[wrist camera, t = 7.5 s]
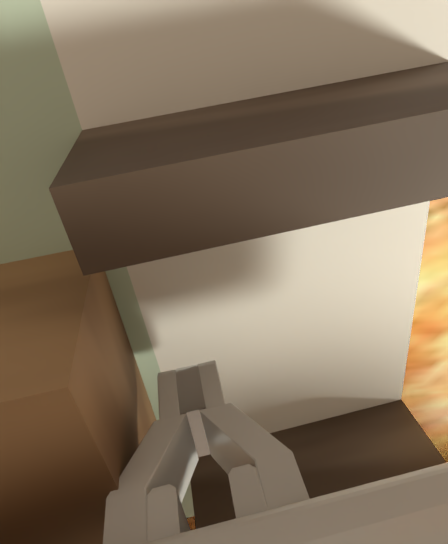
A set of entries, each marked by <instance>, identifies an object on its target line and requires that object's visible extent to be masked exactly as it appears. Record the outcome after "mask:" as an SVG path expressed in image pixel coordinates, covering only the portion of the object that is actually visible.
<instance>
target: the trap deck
mask: <svg viewBox="0 0 448 544" xmlns="http://www.w3.org/2000/svg"><path fill="white" fill-rule="evenodd" d="M443 62H448V0H0V264H4V263H9V262H14V261H19V260H24V259H29V258H34V257H39V256H44V255H49V254H54V253H59V252H64V251H69V250H73V248H72V246H71V243H70V241H69V238H68V236H67V233H66V231H65V228H64V226H63V223H62V221H61V218H60V216H59V213H58V211H57V208H56V206H55V203H54V201H53V198H52V196H51V193H50V191H49V187H50V185H51V183H52V182H53V180H54V178H55V176H56V175H57V173H58V171H59V170H60V168H61V166H62V164H63V163H64V161H65V159H66V157H67V156H68V154H69V152H70V150H71V149H72V147H73V145H74V143H75V142H76V140H77V138H78V137H79V135H80V133H81V131H82V130H86V129H91V128H96V127H102V126H107V125H112V124H118V123H123V122H128V121H134V120H139V119H144V118H150V117H155V116H160V115H166V114H171V113H176V112H182V111H187V110H192V109H198V108H203V107H208V106H214V105H219V104H224V103H230V102H235V101H240V100H246V99H251V98H256V97H262V96H267V95H272V94H278V93H283V92H288V91H294V90H299V89H304V88H310V87H315V86H320V85H326V84H331V83H336V82H342V81H347V80H352V79H358V78H363V77H368V76H374V75H379V74H384V73H390V72H395V71H400V70H406V69H411V68H416V67H422V66H427V65H432V64H438V63H443ZM429 204H430V201H427V202H422V203H418V204H413V205H408V206H404V207H399V208H395V209H390V210H385V211H381V212H376V213H371V214H367V215H362V216H358V217H353V218H348V219H344V220H339V221H335V222H330V223H325V224H321V225H316V226H311V227H307V228H302V229H298V230H293V231H288V232H284V233H279V234H275V235H270V236H265V237H261V238H256V239H251V240H247V241H242V242H238V243H233V244H228V245H224V246H219V247H214V248H210V249H205V250H201V251H196V252H191V253H187V254H182V255H178V256H173V257H168V258H164V259H159V260H154V261H150V262H145V263H141V264H136V265H131V266H127V267H122V268H118V269H113V270H108V271H105V272H106V275H107V278H108V281H109V284H110V287H111V290H112V293H113V296H114V299H115V301H116V304H117V307H118V310H119V313H120V316H121V319H122V322H123V325H124V328H125V330H126V333H127V336H128V339H129V342H130V345H131V348H132V351H133V354H134V357H135V359H136V362H137V365H138V368H139V371H140V374H141V377H142V380H143V383H144V386H145V388H146V391H147V394H148V397H149V400H150V403H151V406H152V409H153V412H154V415H155V417H156V420H159V402H158V382H157V376H158V373H160V372H165V371H170V370H175V369H178V368H182V367H187V366H192V365H196V364H200V363H204V362H208V361H212V360H215V361H216V364H217V368H218V372H219V376H220V381H221V385H222V389H223V394H224V398H225V402H226V404H228V403H232V404H233V405H234V406H236V407H237V408H238V409H239V410H241V411H242V412H243V413H244V414H246V415H247V416H248V417H249V418H251V419H252V420H253V421H254V422H256V423H257V424H258V425H260V426H261V427H262V428H263V429H265V430H266V431H267V432H268V433H273V432H277V431H281V430H284V429H288V428H292V427H296V426H300V425H304V424H308V423H312V422H316V421H319V420H323V419H327V418H331V417H335V416H339V415H343V414H347V413H350V412H354V411H358V410H362V409H366V408H370V407H374V406H378V405H382V404H385V403H389V402H393V401H397V400H401V397H402V390H403V383H404V376H405V369H406V362H407V356H408V349H409V342H410V335H411V328H412V321H413V314H414V307H415V300H416V293H417V287H418V280H419V273H420V266H421V259H422V252H423V245H424V238H425V231H426V224H427V218H428V211H429ZM181 504H182V507H183V510H184V512H185V515H186V518H189V517H192V516H194V508H193V499H192V490H191V482H190V483H189V485H188V488H187V490H186V493H185V496H184V498H183V501H182V503H181Z"/></svg>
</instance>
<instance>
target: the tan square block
mask: <svg viewBox="0 0 448 544" xmlns="http://www.w3.org/2000/svg"><path fill="white" fill-rule="evenodd" d="M154 421H157V420H156V417H155V415H154V412H153V409H152V406H151V403H150V400H149V397H148V394H147V391H146V388H145V386H144V383H143V380H142V377H141V374H140V371H139V368H138V365H137V362H136V359H135V357H134V354H133V351H132V348H131V345H130V342H129V339H128V336H127V333H126V330H125V328H124V325H123V322H122V319H121V316H120V313H119V310H118V307H117V304H116V301H115V299H114V296H113V293H112V290H111V287H110V284H109V281H108V278H107V275H106V272H105V271H104V272H99V273H94V274H90V275H85V276H83V273H82V271H81V268H80V266H79V263H78V261H77V258H76V256H75V253H74V251H73V250H69V251H64V252H59V253H54V254H49V255H44V256H39V257H34V258H29V259H24V260H19V261H14V262H9V263H4V264H0V544H103V534H104V521H105V508H106V498H107V496H108V495H109V493H110V491H114V490H118V488H119V477H120V475H121V474H122V472H123V471H124V469H125V467H126V466H127V464H128V463H129V461H130V459H131V458H132V456H133V454H134V453H135V451H136V450H137V448H138V446H139V445H140V443H141V442H142V440H143V438H144V437H145V435H146V434H147V432H148V430H149V429H150V427H151V425H152V424H153V422H154Z"/></svg>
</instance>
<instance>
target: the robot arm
mask: <svg viewBox="0 0 448 544" xmlns="http://www.w3.org/2000/svg"><path fill="white" fill-rule="evenodd" d="M157 382H158V402H159V420H157V421H154V422H153V424H152V425H151V427H150V429H149V430H148V432H147V434H146V435H145V437H144V438H143V440H142V442H141V443H140V445H139V446H138V448H137V450H136V451H135V453H134V454H133V456H132V458H131V459H130V461H129V463H128V464H127V466H126V467H125V469H124V471H123V472H122V474H121V475H120V477H119V488H118V490H114V491H110V493H109V495H108V496H107V498H106V508H105V521H104V534H103V544H448V462H447V463H443V464H439V465H435V466H432V467H428V468H424V469H420V470H416V471H413V472H409V473H405V474H401V475H398V476H394V477H390V478H386V479H383V480H379V481H375V482H371V483H367V484H364V485H360V486H356V487H352V488H349V489H345V490H341V491H337V492H333V493H330V494H326V495H322V496H318V497H315V498H311V499H310V498H309V495H308V493H307V490H306V487H305V484H304V482H303V479H302V476H301V474H300V471H299V468H298V465H297V463H296V460H295V457H294V455H293V452H292V451H291V450H290V449H288V448H287V447H286V446H285V445H283V444H282V443H281V442H280V441H278V440H277V439H276V438H275V437H273V436H272V435H271V434H270V433H268V432H267V431H266V430H265V429H263V428H262V427H261V426H260V425H258V424H257V423H256V422H254V421H253V420H252V419H251V418H249V417H248V416H247V415H246V414H244V413H243V412H242V411H241V410H239V409H238V408H237V407H236V406H234V405H233V404H232V403H228V404H226V402H225V398H224V394H223V389H222V385H221V381H220V376H219V372H218V368H217V364H216V361H215V360H212V361H208V362H204V363H200V364H196V365H192V366H187V367H182V368H178V369H175V370H170V371H165V372H160V373H158V376H157ZM210 454H211V456H212V457H213V459H214V460H215V461H216V462H217V463H218V464H219V465H220V466H221V467H222V469H223V470H224V471H225V472H226V473H227V474H228V477H229V482H230V488H231V493H232V499H233V504H234V509H235V515H236V519H232V520H228V521H224V522H221V523H217V524H213V525H209V526H206V527H202V528H198V529H194V530H190V527H189V524H188V521H187V518H186V515H185V512H184V510H183V507H182V504H181V503H182V501H183V498H184V496H185V493H186V490H187V488H188V485H189V483H190V480H191V478H192V475H193V473H194V470H195V467H196V465H197V462H198V460H199V459H198V457H201V456H205V455H210Z"/></svg>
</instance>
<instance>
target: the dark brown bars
mask: <svg viewBox="0 0 448 544" xmlns="http://www.w3.org/2000/svg"><path fill="white" fill-rule="evenodd" d="M49 191H50V193H51V196H52V198H53V201H54V203H55V206H56V208H57V211H58V213H59V216H60V218H61V221H62V223H63V226H64V228H65V231H66V233H67V236H68V238H69V241H70V243H71V246H72V248H73V251H74V253H75V256H76V258H77V261H78V263H79V266H80V268H81V271H82V273H83V276H85V275H90V274H94V273H99V272H104V271H108V270H113V269H118V268H122V267H127V266H131V265H136V264H141V263H145V262H150V261H154V260H159V259H164V258H168V257H173V256H178V255H182V254H187V253H191V252H196V251H201V250H205V249H210V248H214V247H219V246H224V245H228V244H233V243H238V242H242V241H247V240H251V239H256V238H261V237H265V236H270V235H275V234H279V233H284V232H288V231H293V230H298V229H302V228H307V227H311V226H316V225H321V224H325V223H330V222H335V221H339V220H344V219H348V218H353V217H358V216H362V215H367V214H371V213H376V212H381V211H385V210H390V209H395V208H399V207H404V206H408V205H413V204H418V203H422V202H427V201H431V200H436V199H441V198H445V197H448V62H443V63H438V64H432V65H427V66H422V67H416V68H411V69H406V70H400V71H395V72H390V73H384V74H379V75H374V76H368V77H363V78H358V79H352V80H347V81H342V82H336V83H331V84H326V85H320V86H315V87H310V88H304V89H299V90H294V91H288V92H283V93H278V94H272V95H267V96H262V97H256V98H251V99H246V100H240V101H235V102H230V103H224V104H219V105H214V106H208V107H203V108H198V109H192V110H187V111H182V112H176V113H171V114H166V115H160V116H155V117H150V118H144V119H139V120H134V121H128V122H123V123H118V124H112V125H107V126H102V127H96V128H91V129H86V130H82V131H81V133H80V135H79V137H78V138H77V140H76V142H75V143H74V145H73V147H72V149H71V150H70V152H69V154H68V156H67V157H66V159H65V161H64V163H63V164H62V166H61V168H60V170H59V171H58V173H57V175H56V176H55V178H54V180H53V182H52V183H51V185H50V187H49ZM270 434H271V435H272V436H273V437H275V438H276V439H277V440H278V441H280V442H281V443H282V444H283V445H285V446H286V447H287V448H288V449H290V450H291V451H292V452H293V455H294V457H295V460H296V463H297V465H298V468H299V471H300V474H301V476H302V479H303V482H304V484H305V487H306V490H307V493H308V495H309V498H310V499H311V498H315V497H318V496H322V495H326V494H330V493H333V492H337V491H341V490H345V489H349V488H352V487H356V486H360V485H364V484H367V483H371V482H375V481H379V480H383V479H386V478H390V477H394V476H398V475H401V474H405V473H409V472H413V471H416V470H420V469H424V468H428V467H432V466H435V465H439V464H443V463H446V461H445V460H444V459H443V457H442V456H441V454H440V453H439V452H438V450H437V449H436V447H435V446H434V445H433V443H432V442H431V440H430V439H429V438H428V436H427V435H426V433H425V432H424V431H423V429H422V428H421V427H420V425H419V424H418V422H417V421H416V420H415V418H414V417H413V415H412V414H411V413H410V411H409V410H408V408H407V407H406V406H405V404H404V403H403V401H402V400H397V401H393V402H389V403H385V404H382V405H378V406H374V407H370V408H366V409H362V410H358V411H354V412H350V413H347V414H343V415H339V416H335V417H331V418H327V419H323V420H319V421H316V422H312V423H308V424H304V425H300V426H296V427H292V428H288V429H284V430H281V431H277V432H273V433H270ZM198 459H199V460H198V462H197V465H196V467H195V470H194V473H193V475H192V478H191V480H190V482H191V490H192V499H193V508H194V516H195V525H196V529H198V528H202V527H206V526H209V525H213V524H217V523H221V522H224V521H228V520H232V519H236V515H235V509H234V504H233V499H232V493H231V488H230V482H229V477H228V474H227V473H226V472H225V471H224V470H223V469H222V467H221V466H220V465H219V464H218V463H217V462H216V461H215V460H214V459H213V457H212V456H211V454H210V455H205V456H201V457H198Z"/></svg>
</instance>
